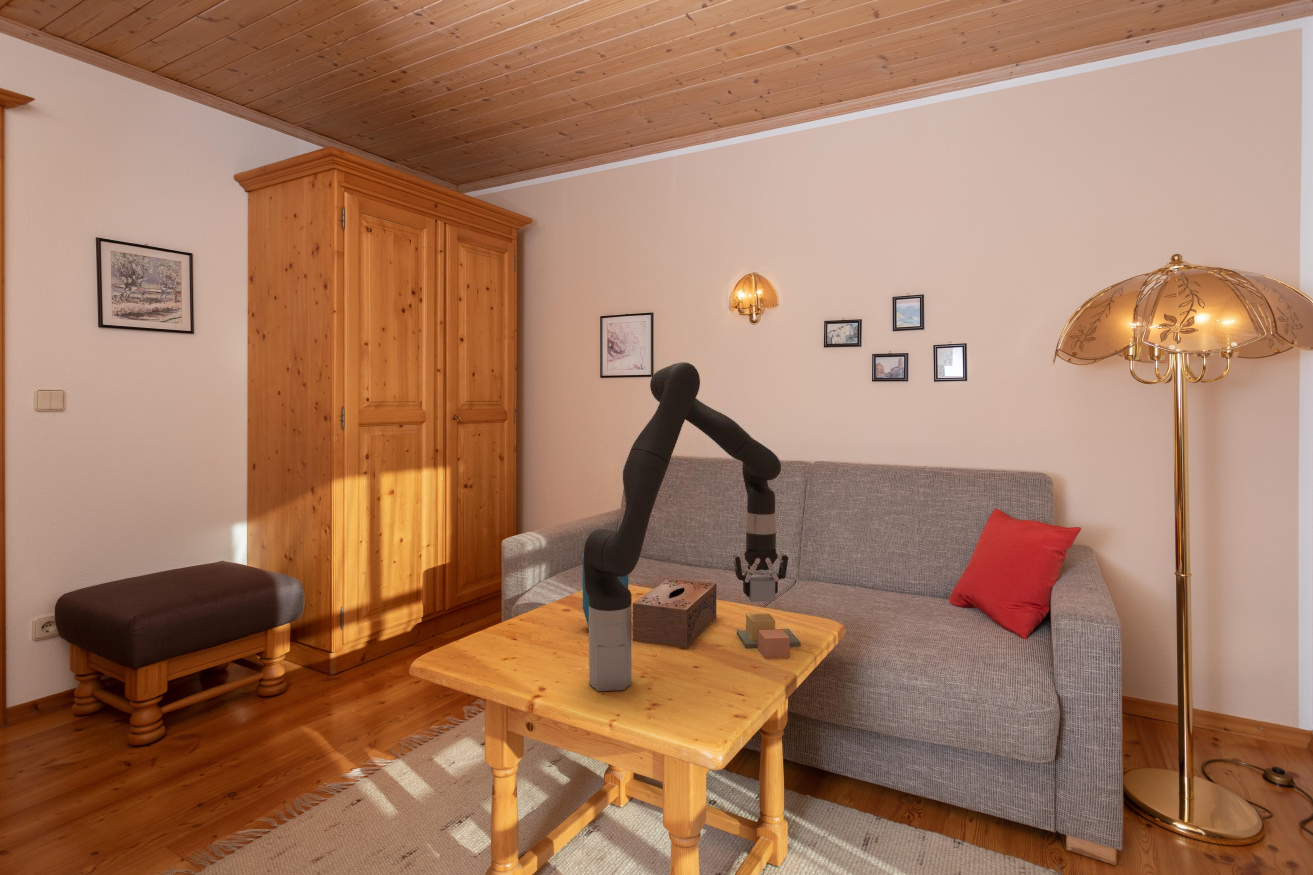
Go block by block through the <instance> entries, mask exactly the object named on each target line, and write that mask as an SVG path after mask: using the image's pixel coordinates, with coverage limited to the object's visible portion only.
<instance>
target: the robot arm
mask: <svg viewBox="0 0 1313 875" xmlns="http://www.w3.org/2000/svg"><path fill="white" fill-rule="evenodd" d="M700 377H701V376H700V374H699V371H698V369H697V368H696V367H695V366H694V364H692V363H690V362H686V361H685V362H684V361H683V362H682V361H681V362H676V363H673V364H671V365H668V366H666V367H663V368H661V369H658V370H657V371H655V373H653V375H652V376H651V379H650V383H649V388H650V391H651V395H653V396H652V397H654V399H655V400H656V401H657V402H658V403H659V404H658V405H657V409H656V410H655V413H654V414H653V416H652V417H651V418H650V420H649V421H648V423H647V424H645V426H644V428H643V429H642V430H641V432H640V433H639V435H637V438H636V439H635V440H634V442H633V444H632V446H631V449H630V450H629V452H628V456H627V458H626V461H625V462H624V466H623V470H622V484H623V491H624V499H625V510H624V514H623V517H622V520H621V522H620V526H619V527H618V530H617V531H616V530H613V529H604V528H602V529H601V528H598V529H595V530H594V531H592V532H591V533H590V534H589V535H588V537H587V539H586V540H585V544H584V548H583V554H584V578H585V590H586V593H587V596H588V599H589V628H588V679H589V681H588V683H589V686H590V687H591V688H593V689H595V690H596V692H612V691H614V692H615V691H626V690H627V689H626V688H628V687H629V686H630V685H632V682H633V681H632V672H633V671H632V667H633V666H632V618H633V613H632V605H633V601H632V600H633V599H632V592H631V590H630V589H629V587H628V588H627V587H625V586H624V585H623V584H622V583H621V581H620V580H619V578H618V576H619V577H624V576H627V575H628V576H630V574H631V573H632V572H633V571H634V569H635V568H636V567H637V564H638V562H639V560H640V557H641V554H642V549H643V546H644V541H645V538H646V534H647V530H648V526H649V524H650V523H649V522H650V518H651V515H652V513H653V509H654V506H655V503H656V500H657V497H658V494H659V491H660V488H661V485H662V484H663V481H664V478H665V476H666V473H667V471H668V469H669V465H670V461H671V459H672V456H673V453H674V450H675V447H676V444H677V442H678V441H679V436H680V434H681V431H682V428H683V425H684V423H685V421H687V422H689V423H690V424H691V425H693V427H696V428H697V429H698V430H699V431H701V432H702V433H704V434H705V435H706V436H707V437H709V438H710V439H711V440H712V441H713V442H714V443H716V444H717V445H718V446H719V448H721V449H722V450H723V451H724V452H725V453H726V454H728V456H730V457H731V458H733V459H735V460H737V461H740V462H741V463H742V468H741V469H742V470H741V471H742V476H743V481H744V488H745V491H746V497H747V500H746V501H747V502H746V508H747V509H746V521H745V552H744V554H741V555H738V554H734V555H733V556H732V557H733V564H734V571H735V577H736V578H737V579H738V580H739V581H742V592H743V594H744V595H745V596H746V597H747V598H748V597H750V582H749V581H750V579H751V577H752V576H754V574H755V571H756V572H757V571H758V572H759V571H768V573H769V576H770V577H771V578H772V579H773V580H774V581H775V595H776V594H778V590H779V585H778V584H779V581H780V580H784V579H786V578H787V571H788V570H787V569H788V562H789V556H788V555H787V554H785V553H781V554H780V553H778V552H777V519H776V494H775V491H773V490H772V489H771V488H770V487H769V483H768V481H773V480H774V479H776V478H778V476H779V475H780V474H781V471H782V464H781V461H780V458H779V457H778V456H777V455H776V454H775V452H774V451H772V450H771V449H770V448H768V446H765V445H764V444H762V443H761V442H759V441H758V440H756V439H754V438H753V437H752V436H751V435H750V434H749V433H748V432H747V431H746V430H745V429H744V428H743V427H741V425H739V423H737V422H736V421H734V420H733V419H732V418H730V417H729V416H727V415H726V414H724V413H723V412H720V411H718V410H716V409H714V408H713V407H710V406H708V405H706V404H705V403H703V402H702V401H701V400H699V399H698V398H697V396H698V393H699V391H700V386H701V378H700ZM744 561H746V562H747V563H748V564H747V565H746V568H745V572H744V573H743V572H742V571H743V570H742V565H743V564H744ZM776 561H778V562H779V567H778V573H777V572H776V570H775V567H774V564H775V562H776Z"/></svg>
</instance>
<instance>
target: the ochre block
mask: <svg viewBox="0 0 1313 875" xmlns="http://www.w3.org/2000/svg"><path fill="white" fill-rule="evenodd" d="M774 629H776V619H774V617H773V616H772V615H771V614H770V613H769V612H764V613H762V612H761V613H746V614H745V630H746V634H747V635H748V637H749V638H750V639H751V641H758V630H774Z"/></svg>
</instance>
